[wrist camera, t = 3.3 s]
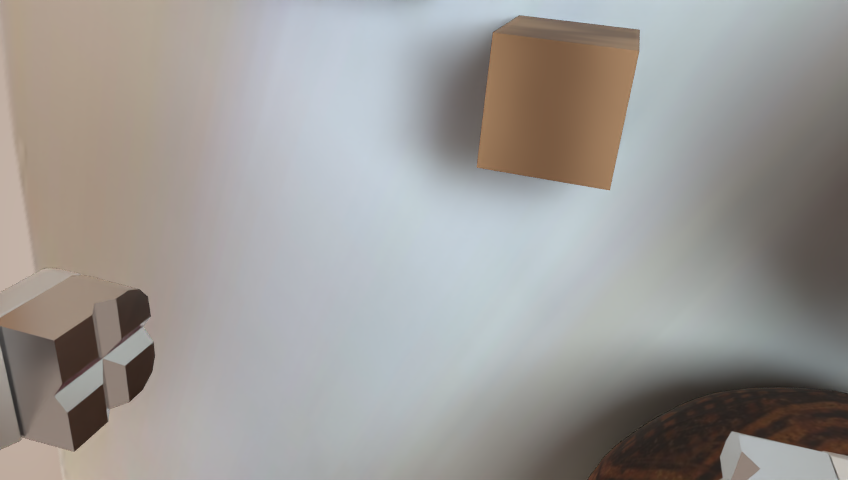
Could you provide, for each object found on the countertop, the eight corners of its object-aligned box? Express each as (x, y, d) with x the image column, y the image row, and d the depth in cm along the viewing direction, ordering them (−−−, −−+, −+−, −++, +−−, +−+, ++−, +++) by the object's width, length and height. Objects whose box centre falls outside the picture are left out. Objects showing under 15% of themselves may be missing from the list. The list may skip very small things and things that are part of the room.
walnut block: (639, 29, 28) (639, 50, 23) (615, 146, 30) (609, 190, 25) (519, 15, 29) (493, 32, 24) (504, 128, 31) (476, 167, 26)
